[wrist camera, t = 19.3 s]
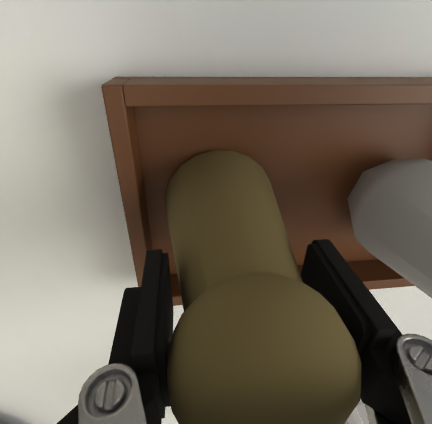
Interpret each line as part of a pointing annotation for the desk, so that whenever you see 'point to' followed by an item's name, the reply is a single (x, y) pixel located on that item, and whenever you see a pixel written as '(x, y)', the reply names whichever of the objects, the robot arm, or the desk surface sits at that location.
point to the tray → (267, 149)
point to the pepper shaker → (248, 308)
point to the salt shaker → (397, 217)
